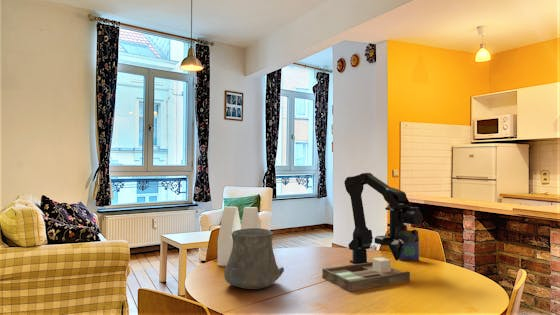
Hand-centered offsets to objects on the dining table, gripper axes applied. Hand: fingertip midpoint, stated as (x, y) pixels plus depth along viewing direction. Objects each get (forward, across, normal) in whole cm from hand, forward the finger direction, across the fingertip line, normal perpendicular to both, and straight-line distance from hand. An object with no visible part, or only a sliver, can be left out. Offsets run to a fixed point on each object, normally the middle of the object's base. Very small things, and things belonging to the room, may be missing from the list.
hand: (396, 260), depth 150 cm
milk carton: (+6, -51, +47) cm, 70 cm away
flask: (+6, +21, +15) cm, 26 cm away
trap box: (+6, -16, 0) cm, 17 cm away
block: (+3, -8, 0) cm, 9 cm away
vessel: (+6, -58, +11) cm, 59 cm away
